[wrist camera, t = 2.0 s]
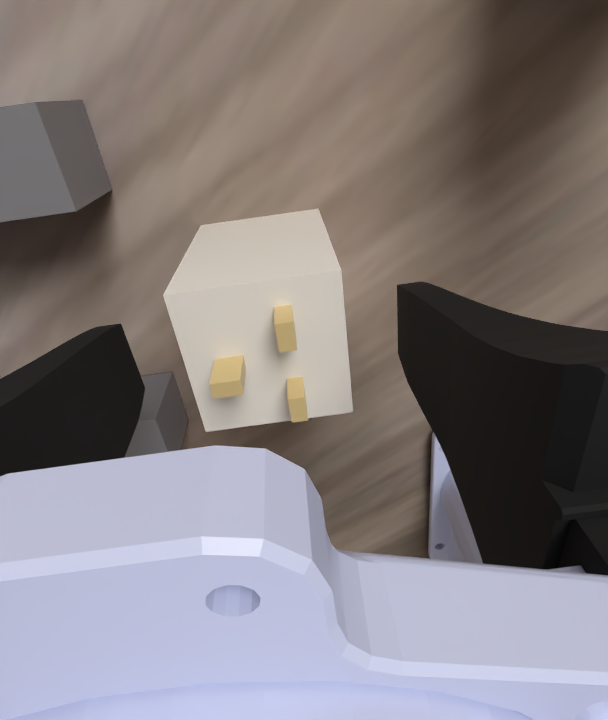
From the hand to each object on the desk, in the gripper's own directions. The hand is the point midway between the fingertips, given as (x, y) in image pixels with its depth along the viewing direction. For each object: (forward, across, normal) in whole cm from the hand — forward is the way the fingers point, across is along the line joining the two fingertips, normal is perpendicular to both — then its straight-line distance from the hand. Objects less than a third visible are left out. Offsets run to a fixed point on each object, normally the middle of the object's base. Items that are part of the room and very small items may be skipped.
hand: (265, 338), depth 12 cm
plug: (+5, 0, 0) cm, 5 cm away
